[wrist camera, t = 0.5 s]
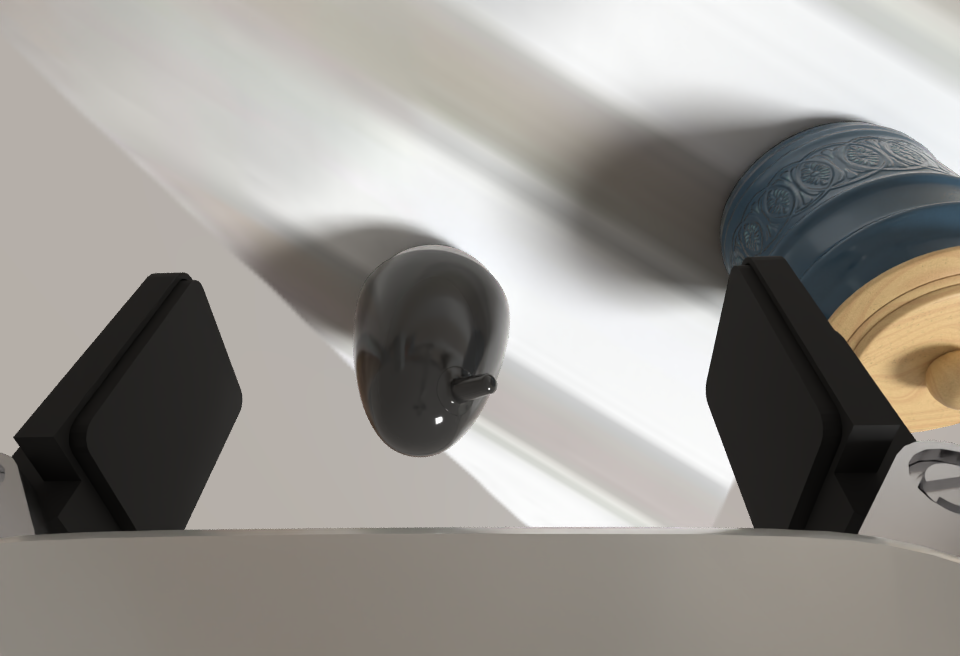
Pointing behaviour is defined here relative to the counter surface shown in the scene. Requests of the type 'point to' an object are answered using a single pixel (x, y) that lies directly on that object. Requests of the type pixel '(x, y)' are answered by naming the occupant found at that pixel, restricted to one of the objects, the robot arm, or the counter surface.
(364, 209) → the counter surface
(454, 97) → the counter surface
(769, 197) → the canister
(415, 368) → the pump dispenser
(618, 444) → the counter surface
